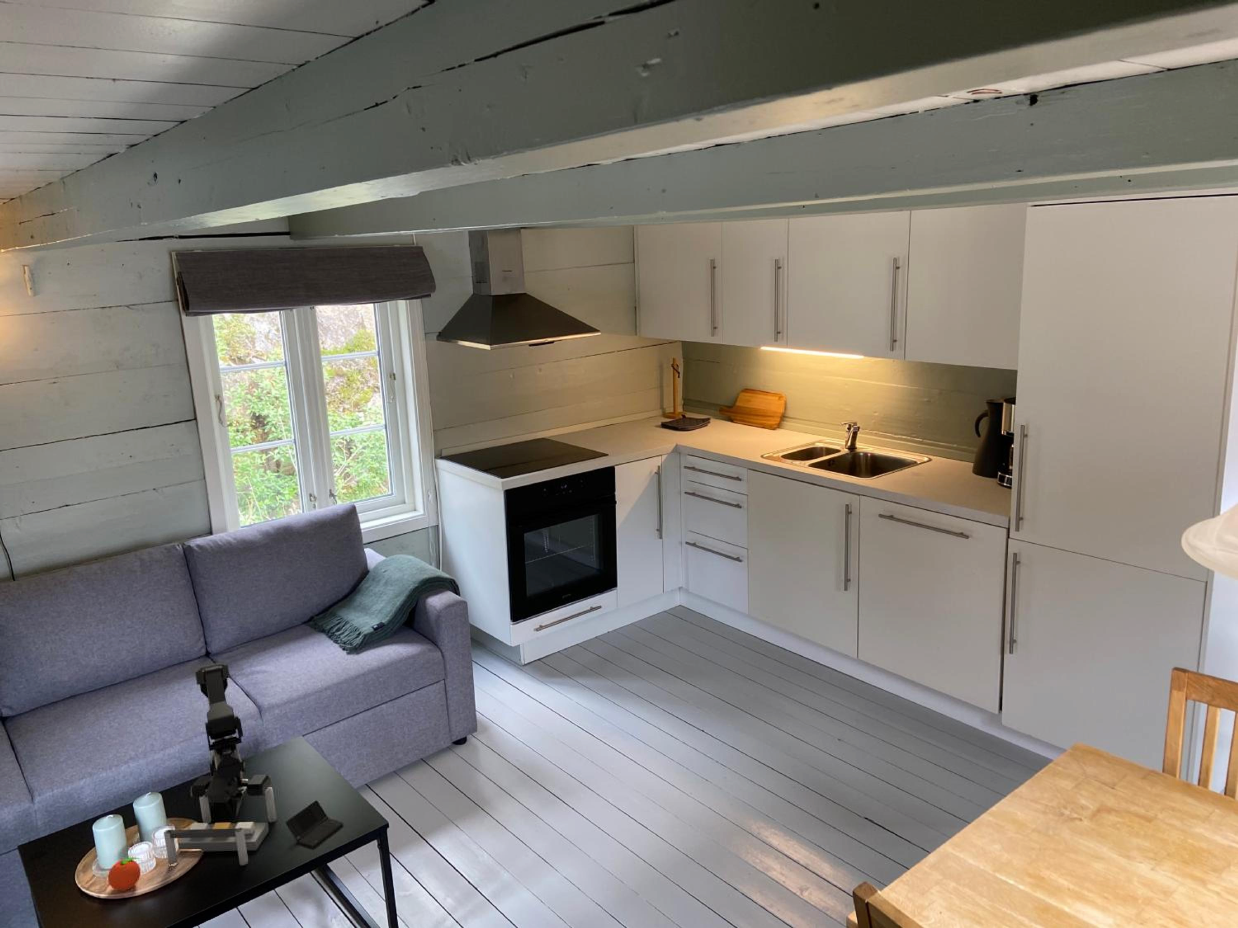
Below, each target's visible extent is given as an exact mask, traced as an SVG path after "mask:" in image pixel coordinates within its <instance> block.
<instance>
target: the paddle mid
mask: <svg viewBox="0 0 1238 928" xmlns="http://www.w3.org/2000/svg"><path fill="white" fill-rule="evenodd" d="M214 824H215V825H214V827H213V829H232V825H231V824H232V823H231V822H215V823H214Z"/></svg>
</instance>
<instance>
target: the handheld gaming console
mask: <svg viewBox="0 0 1238 928" xmlns="http://www.w3.org/2000/svg"><path fill="white" fill-rule="evenodd" d="M285 825H286V826H287V829H288V830H289V831H290V833H291V835H292V836H293V838H294V839H295V840H296V844H299V845H302V846H304V847H308V848H310V849H315V848H316V847H318V846H319V845H320V844H322V843H323V842H324V841H326V839H328V838H330V836H331V835H333V834H335V833H336V832H338V830H340V828H343V826H344V822H343V821H338V820H335V819H332V818H329V816H327V814H326V811H324V808H323V807H322V805H321V804H320V802H319V801H318V800H314V801H313V802H311V803H310V804H309V805H307V806H306V807H305V808H303V809H302V810H301V811H299V812H298V813H296V814H294V815H293V816H292V817H290V818H289V819H288V820H287V821H286V822H285Z"/></svg>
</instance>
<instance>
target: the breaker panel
mask: <svg viewBox="0 0 1238 928" xmlns="http://www.w3.org/2000/svg"><path fill="white" fill-rule="evenodd" d="M253 823H254V826H255V829H254V832H253V833H252V834H244V836H245V842H246V849H247V851H256V850H258V848H259V847H260V846H261V843H262V842H263V841H264V839H265V837H266V836H267V835H268V834H269V832H270V829H269V823H268V822H253ZM237 824H238V822H237V823H231V825H232V829H235V828H236V826H237ZM208 825H209V827H210V829H213V827H214V825H215V823H208ZM188 830H190V828H189V829H188ZM177 845H178V850H179V849H201V850H203V851H202V852H225V851H227V852H229V851H230V852H231V851H233V852H236V851H237V852H238V849H237V842H236V837H209V838H180V840H179V842H178V843H177Z"/></svg>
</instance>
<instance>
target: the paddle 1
mask: <svg viewBox="0 0 1238 928" xmlns="http://www.w3.org/2000/svg"><path fill="white" fill-rule="evenodd" d="M208 824H209V823H203V822H199V823H198V822H197V823H194V822H193V823H192V824H191V826H190V828H189V829H190V830H192V829H210V827H209V825H208Z"/></svg>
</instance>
